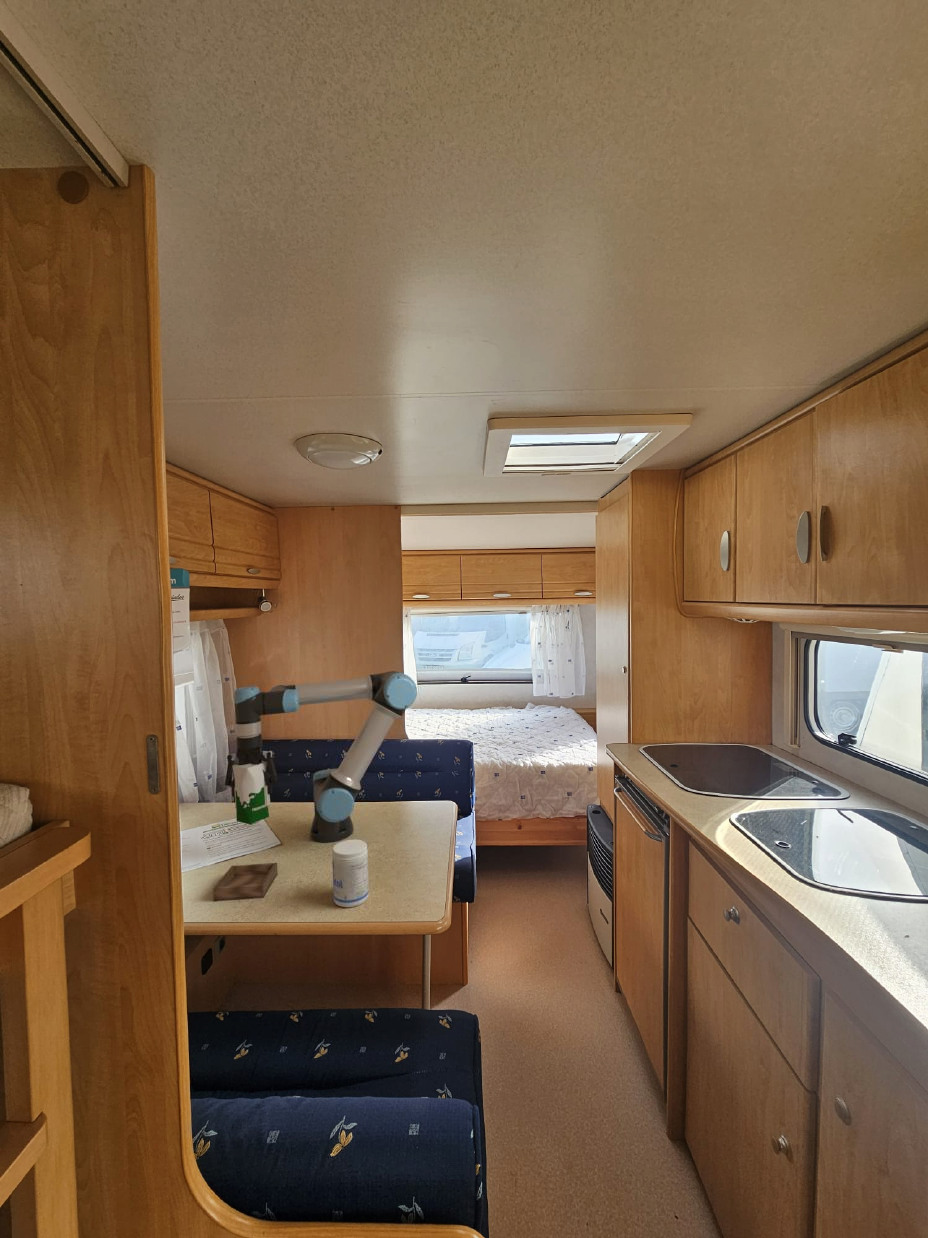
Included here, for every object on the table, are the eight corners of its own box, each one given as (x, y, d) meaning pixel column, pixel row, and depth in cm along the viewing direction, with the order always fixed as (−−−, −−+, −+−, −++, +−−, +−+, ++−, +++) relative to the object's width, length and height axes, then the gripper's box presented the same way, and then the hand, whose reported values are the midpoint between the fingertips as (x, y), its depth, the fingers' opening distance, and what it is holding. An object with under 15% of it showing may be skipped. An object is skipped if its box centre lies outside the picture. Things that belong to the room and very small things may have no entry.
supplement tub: (326, 901, 143) (324, 848, 143) (354, 886, 150) (352, 836, 150) (348, 913, 137) (346, 857, 137) (376, 897, 144) (374, 844, 144)
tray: (277, 874, 160) (277, 862, 160) (263, 897, 146) (262, 885, 146) (232, 877, 159) (231, 865, 159) (213, 901, 145) (213, 889, 145)
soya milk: (256, 812, 174) (252, 752, 173) (273, 816, 169) (270, 755, 169) (232, 821, 166) (228, 759, 166) (249, 826, 161) (246, 762, 161)
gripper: (286, 730, 172) (289, 798, 172) (219, 734, 170) (223, 803, 171) (279, 735, 164) (283, 807, 164) (210, 740, 163) (214, 812, 163)
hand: (252, 805), depth 167 cm, fingers closed on soya milk, 8 cm apart
